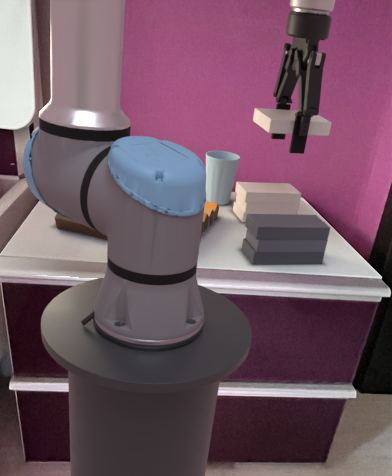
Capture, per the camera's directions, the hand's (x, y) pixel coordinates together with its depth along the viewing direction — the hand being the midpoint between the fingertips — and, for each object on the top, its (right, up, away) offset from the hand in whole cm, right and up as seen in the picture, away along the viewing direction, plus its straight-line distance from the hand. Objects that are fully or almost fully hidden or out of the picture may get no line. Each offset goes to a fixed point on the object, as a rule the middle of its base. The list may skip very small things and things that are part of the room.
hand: (286, 145), depth 109 cm
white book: (0, +3, -2) cm, 3 cm away
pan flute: (-29, -14, +5) cm, 32 cm away
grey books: (-1, -22, -2) cm, 22 cm away
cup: (-13, -5, +21) cm, 25 cm away
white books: (-3, -10, +15) cm, 19 cm away
